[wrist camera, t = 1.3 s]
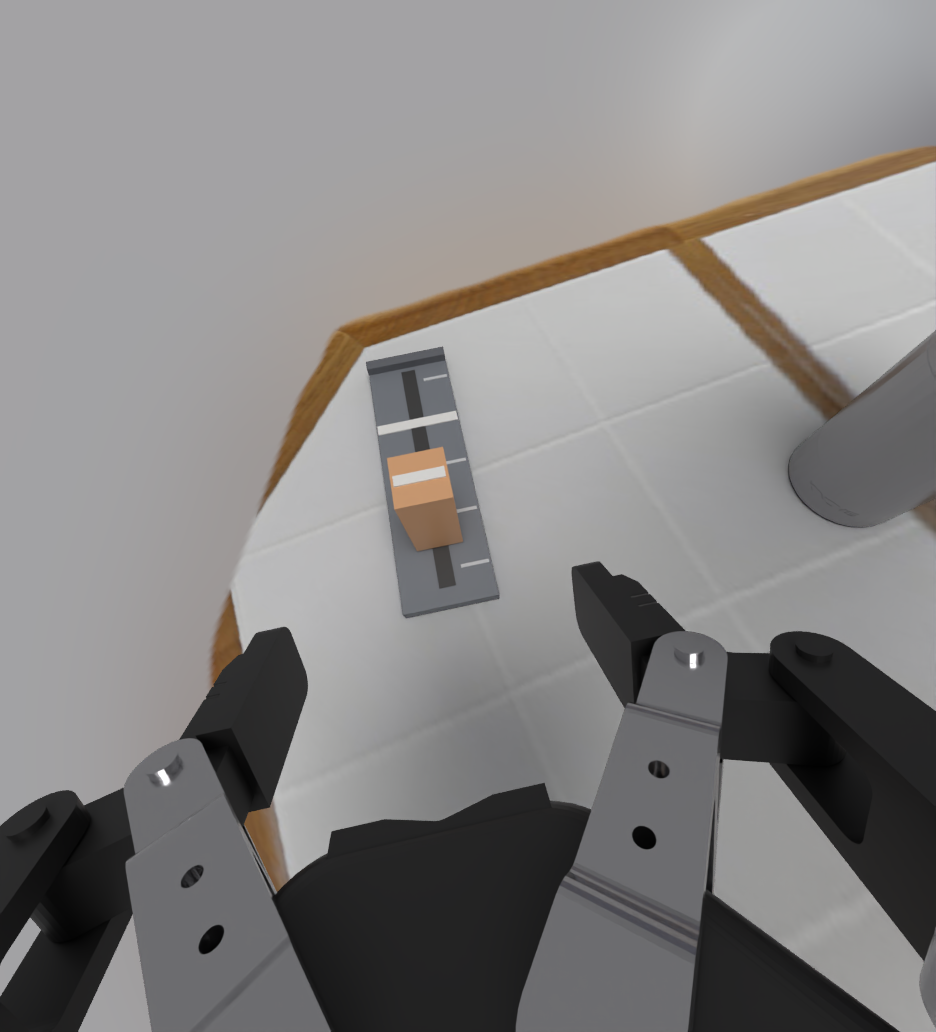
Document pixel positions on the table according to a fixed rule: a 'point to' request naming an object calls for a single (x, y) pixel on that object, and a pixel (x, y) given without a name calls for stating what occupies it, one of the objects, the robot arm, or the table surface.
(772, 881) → the table surface
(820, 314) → the table surface
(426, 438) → the fader rail
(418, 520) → the fader tab
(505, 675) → the table surface
